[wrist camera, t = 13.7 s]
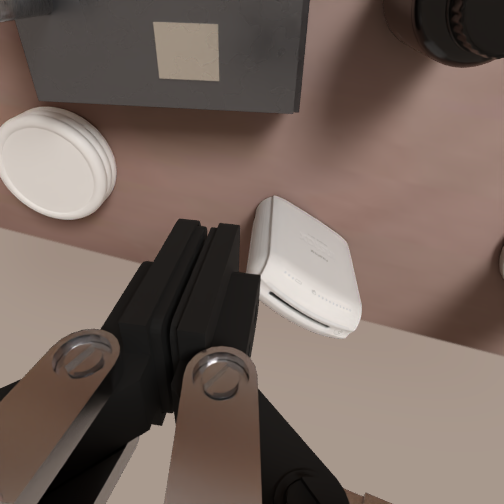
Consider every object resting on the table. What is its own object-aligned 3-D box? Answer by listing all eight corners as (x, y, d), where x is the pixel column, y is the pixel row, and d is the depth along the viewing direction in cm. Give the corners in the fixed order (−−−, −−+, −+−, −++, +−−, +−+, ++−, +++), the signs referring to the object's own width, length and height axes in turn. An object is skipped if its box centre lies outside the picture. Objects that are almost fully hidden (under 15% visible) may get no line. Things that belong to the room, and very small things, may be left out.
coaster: (116, 117, 33) (100, 130, 30) (120, 213, 39) (107, 231, 36) (3, 94, 33) (-25, 104, 30) (24, 194, 39) (3, 211, 36)
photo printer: (354, 240, 38) (376, 332, 28) (326, 266, 41) (337, 360, 31) (272, 185, 35) (264, 266, 26) (247, 217, 38) (231, 302, 28)
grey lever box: (316, -112, 23) (334, -181, 13) (298, 92, 30) (300, 148, 20) (32, -117, 24) (-152, -184, 14) (78, 82, 31) (-24, 130, 21)
